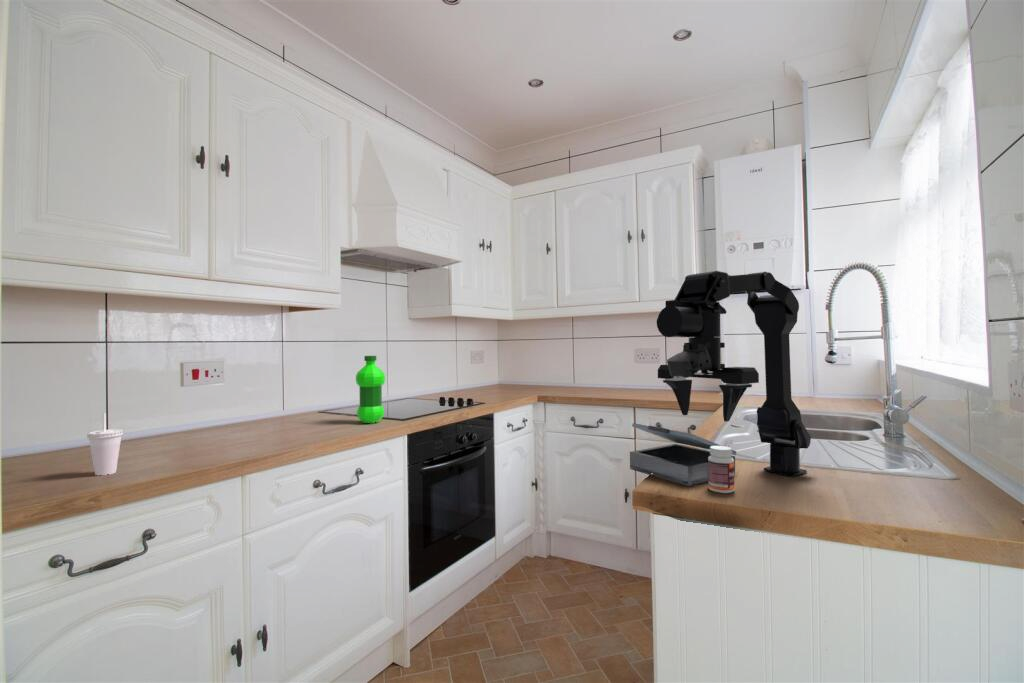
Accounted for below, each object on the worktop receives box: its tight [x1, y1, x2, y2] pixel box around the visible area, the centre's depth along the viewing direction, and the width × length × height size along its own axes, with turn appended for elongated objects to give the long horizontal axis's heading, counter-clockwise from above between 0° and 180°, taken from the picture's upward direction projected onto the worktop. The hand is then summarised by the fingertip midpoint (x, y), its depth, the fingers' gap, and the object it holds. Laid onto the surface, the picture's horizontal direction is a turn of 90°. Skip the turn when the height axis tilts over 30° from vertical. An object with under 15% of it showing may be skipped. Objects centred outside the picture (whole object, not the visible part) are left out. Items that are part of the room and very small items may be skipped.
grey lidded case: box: [629, 443, 736, 487], centre depth 108 cm, size 16×16×4 cm
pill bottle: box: [707, 445, 735, 494], centre depth 95 cm, size 5×5×8 cm
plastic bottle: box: [355, 355, 386, 424], centre depth 178 cm, size 10×10×25 cm
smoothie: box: [86, 412, 124, 477], centre depth 110 cm, size 6×6×14 cm
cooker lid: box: [631, 422, 737, 456], centre depth 108 cm, size 17×16×1 cm
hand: (704, 418), depth 92 cm, fingers open, 9 cm apart
